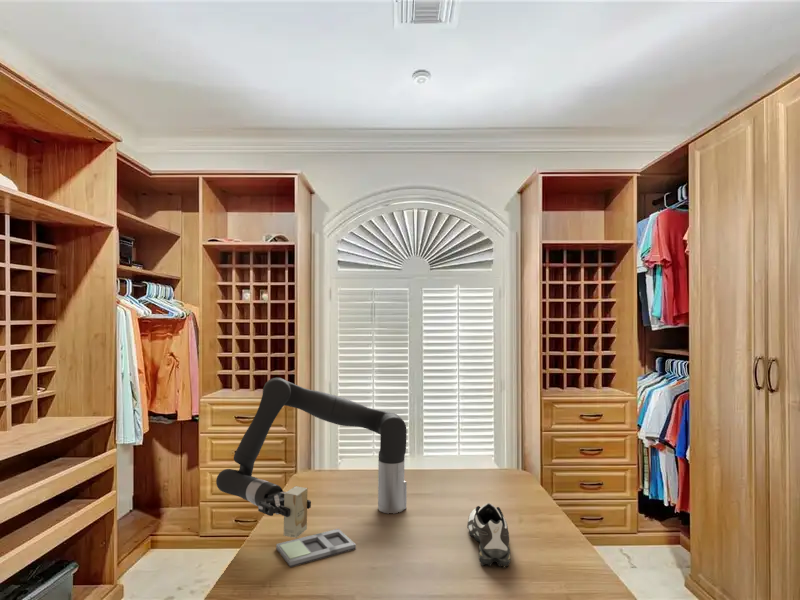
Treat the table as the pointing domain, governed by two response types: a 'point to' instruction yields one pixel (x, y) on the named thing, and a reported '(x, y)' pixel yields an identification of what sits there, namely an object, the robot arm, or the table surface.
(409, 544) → the table surface
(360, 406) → the robot arm
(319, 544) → the board
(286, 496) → the skincare box
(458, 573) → the table surface
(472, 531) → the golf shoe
